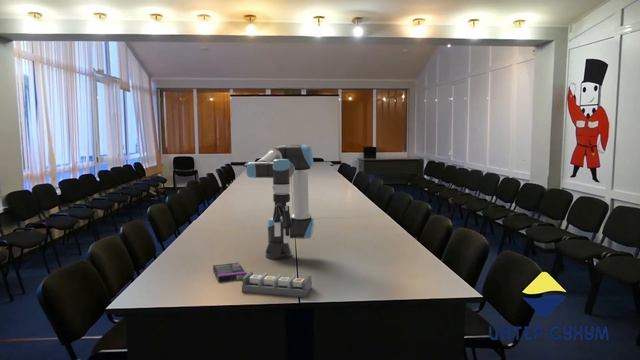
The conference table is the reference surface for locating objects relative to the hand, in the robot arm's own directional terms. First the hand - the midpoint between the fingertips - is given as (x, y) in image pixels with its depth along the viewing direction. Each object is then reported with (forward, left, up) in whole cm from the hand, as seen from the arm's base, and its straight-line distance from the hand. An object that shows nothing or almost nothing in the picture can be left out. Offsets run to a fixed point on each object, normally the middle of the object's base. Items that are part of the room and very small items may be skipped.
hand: (282, 239), depth 203 cm
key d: (0, -6, -21) cm, 22 cm away
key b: (0, -13, -21) cm, 25 cm away
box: (-15, -34, -25) cm, 44 cm away
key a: (0, +1, -21) cm, 21 cm away
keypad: (0, -3, -24) cm, 24 cm away
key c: (0, +8, -21) cm, 22 cm away
